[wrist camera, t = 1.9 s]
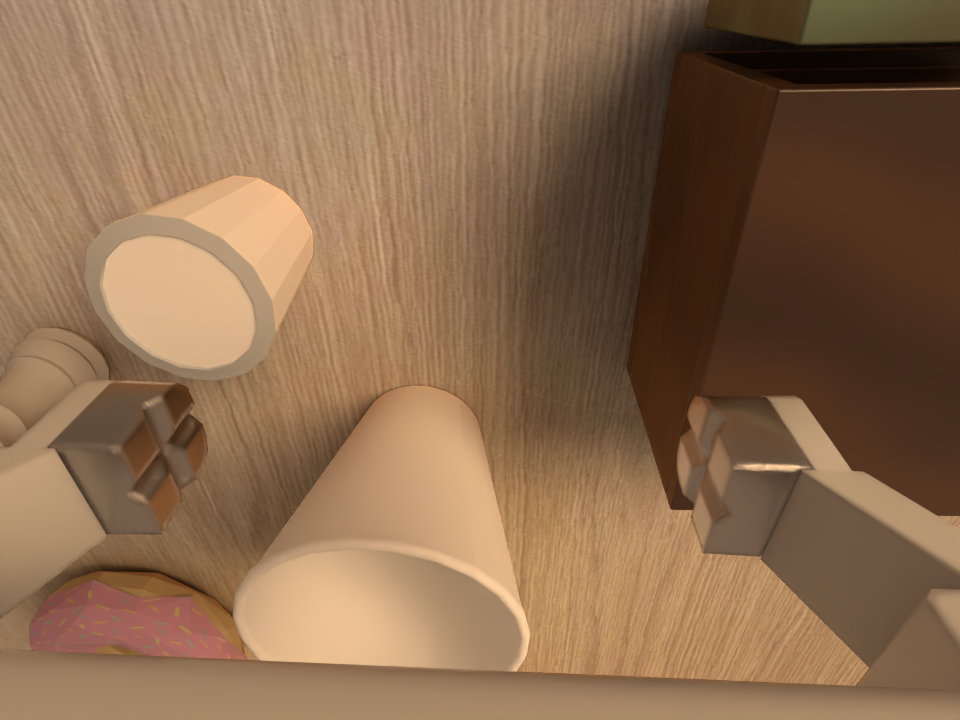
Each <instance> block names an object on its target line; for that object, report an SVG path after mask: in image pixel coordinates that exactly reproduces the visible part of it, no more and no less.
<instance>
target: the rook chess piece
mask: <svg viewBox="0 0 960 720" xmlns="http://www.w3.org/2000/svg"><path fill="white" fill-rule="evenodd" d="M88 380H109V367H108V362H107V360H106V358H105V356H104V354H103V352H102V351H101V350H100V349H99V348H98V347H97V346H96V345H95V344H94V343H93V342H92V341H91V340H89V339H87V338H86V337H84V336H82V335H81V334H79V333H77V332H73V331H70V330H67V329H63V328H39V329H37V330H35V331H33V332H31V333H29V334H28V335H27V337H26V339H25V340H23V341H21V342H19V343H17V344H16V346H15V347H14V349H13V351H12V353H11V355H10V357H9V362H8V364H7V366H6V368H5V374H4V375H3V377H2V378H1V379H0V447H10V446H11V445H12V444H13V443H15V442H16V441H17V440H18V439H19V438H20V437H21V436H22V435H23V434H24V433H25V432H26V431H28V430H29V429H30V428H31V427H32V426H33V425H34V424H35V423H36V422H37V421H38V420H39V419H41V418H42V417H43V416H44V415H45V414H46V413H47V412H48V411H49V410H50V409H51V408H52V407H54V406H55V405H56V404H57V403H58V402H59V401H60V400H61V399H62V398H63V397H64V396H65V395H67V394H68V393H69V392H70V391H71V390H72V389H73V388H74V387H75V386H76V385H77V384H78V383H80V382H84V381H88Z"/></svg>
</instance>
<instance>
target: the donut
mask: <svg viewBox="0 0 960 720" xmlns="http://www.w3.org/2000/svg"><path fill="white" fill-rule="evenodd" d="M29 631H30V646H31V649H32V651H55V652H78V653H101V654H124V655H147V656H170V657H192V658H216V659H239V660H247V657H246V656H245V655H244V654H245V652H244V647H243V643H242V639H241V638H240V635H239V632H238V629H237V627H236V624H235V621H234V618H233V617H232V616H231V615H230V614H229V613H228V612H227V611H226V610H225V609H224V608H223V607H222V606H221V605H220V604H219V603H218V602H217V601H216V600H215V599H214V598H211V597H209V596H207V595H205V594H203V593H201V592H199V591H197V590H194V589H192V588H190V587H188V586H186V585H184V584H182V583H180V582H177V581H175V580H173V579H171V578H169V577H167V576H165V575H163V574H160V573H149V572H119V571H95V572H92V573H89V574H86V575H83V576H80V577H78V578H75V579H72V580H69V581H68V582H67V583H65V584H64V585H62V586H61V587H60V588H58V589H57V590H56V591H54V592H53V593H51V594H50V596H48V597H47V598H46V600H45V601H44V603H43V605H42V606H41V608H40V609H39V611H38V612H37V614H36V616H35V617H34V619H33V620H32V622H31V624H30V625H29Z"/></svg>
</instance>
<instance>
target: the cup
mask: <svg viewBox="0 0 960 720" xmlns="http://www.w3.org/2000/svg"><path fill="white" fill-rule="evenodd" d="M233 618H234V621H235V624H236V627H237V629H238V632H239V635H240V638H241V639H242V640H243V642H244V643H245V644H246V645H247V647H248V648H249V649H250V650H251V651H252V653H253V654H254V655H255V656H256V658H257V659H259V660H262V661H285V662H309V663H332V664H355V665H379V666H402V667H425V668H448V669H472V670H495V671H516V670H517V669H518V668H519V666H520V665H521V663H522V662H523V661H524V659H525V658H526V655H527V649H528V644H529V638H530V631H529V627H528V624H527V621H526V617H525V614H524V610H523V608H522V606H521V602H520V598H519V594H518V590H517V585H516V581H515V577H514V573H513V568H512V564H511V560H510V555H509V551H508V547H507V543H506V538H505V534H504V530H503V526H502V521H501V517H500V513H499V508H498V504H497V500H496V496H495V491H494V487H493V483H492V479H491V474H490V470H489V466H488V461H487V457H486V453H485V449H484V444H483V440H482V436H481V432H480V428H479V424H478V421H477V418H476V416H475V415H474V413H473V412H472V410H471V409H470V407H469V406H467V405H466V404H465V403H464V402H463V401H462V400H461V399H459V398H458V397H456V396H454V395H452V394H450V393H449V392H447V391H444V390H441V389H437V388H434V387H430V386H417V385H412V386H406V387H399V388H396V389H394V390H391V391H389V392H386V393H384V394H383V395H382V396H380V397H379V398H378V399H376V400H375V401H374V402H373V404H372V405H371V407H370V408H369V409H368V411H367V412H366V413H365V415H364V416H363V418H362V419H361V420H360V422H359V423H358V425H357V426H356V427H355V429H354V430H353V432H352V433H351V434H350V436H349V437H348V438H347V440H346V441H345V443H344V444H343V445H342V447H341V448H340V450H339V451H338V452H337V454H336V455H335V457H334V458H333V459H332V461H331V462H330V463H329V465H328V466H327V468H326V469H325V470H324V472H323V473H322V475H321V476H320V477H319V479H318V480H317V482H316V483H315V484H314V486H313V487H312V488H311V490H310V491H309V493H308V494H307V495H306V497H305V498H304V500H303V501H302V502H301V504H300V505H299V507H298V508H297V509H296V511H295V512H294V513H293V515H292V516H291V518H290V519H289V520H288V522H287V523H286V525H285V526H284V527H283V529H282V530H281V532H280V533H279V534H278V536H277V537H276V539H275V540H274V541H273V543H272V544H271V545H270V547H269V548H268V550H267V551H266V552H265V554H264V555H263V557H262V558H261V559H260V561H259V562H258V564H256V565H255V566H253V567H252V568H251V569H250V570H249V571H248V573H247V574H246V576H245V577H244V579H243V580H242V582H241V583H240V585H239V586H238V588H237V589H236V591H235V598H234V606H233Z"/></svg>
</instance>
